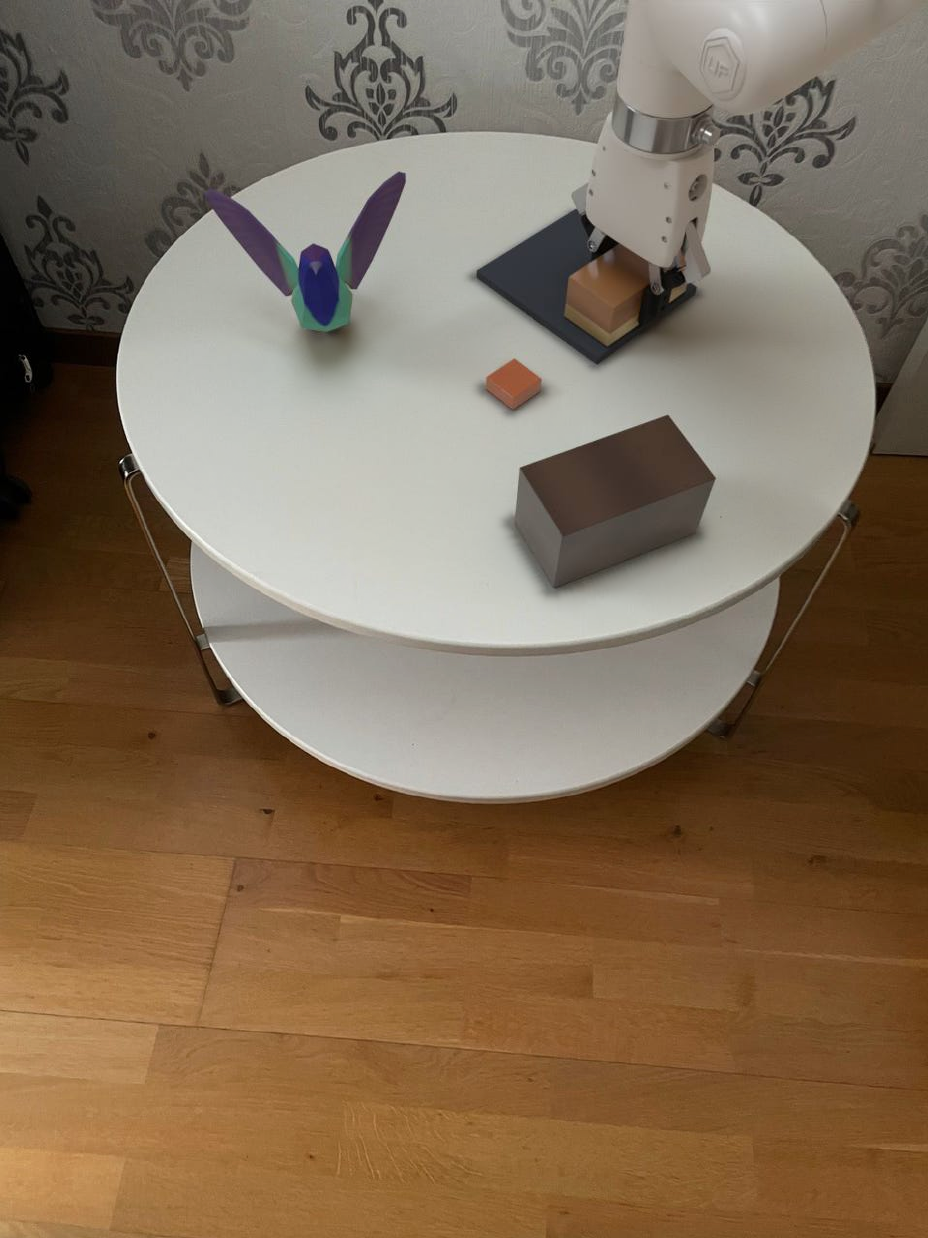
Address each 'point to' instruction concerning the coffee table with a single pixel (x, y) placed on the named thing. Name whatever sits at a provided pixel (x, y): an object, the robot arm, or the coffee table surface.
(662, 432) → the stand
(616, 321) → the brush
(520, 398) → the orange square block
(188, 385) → the coffee table surface
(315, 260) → the decorative sculpture
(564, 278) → the mat
